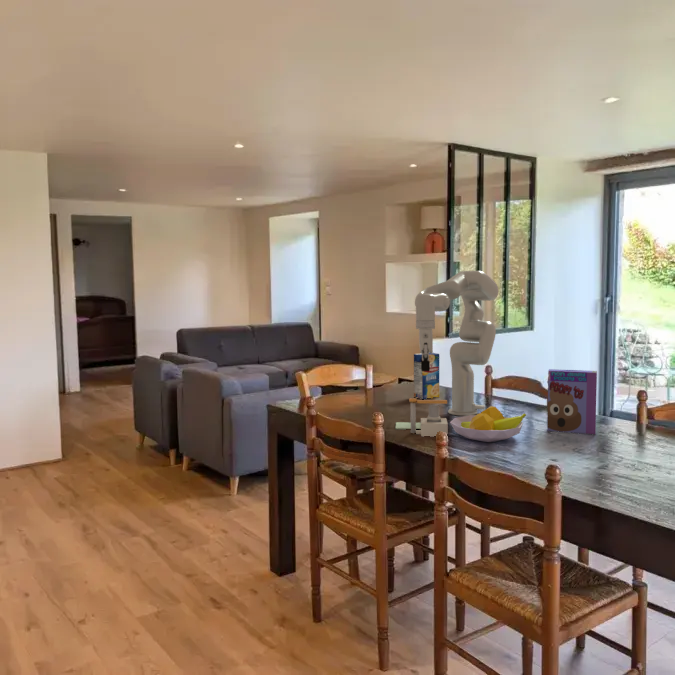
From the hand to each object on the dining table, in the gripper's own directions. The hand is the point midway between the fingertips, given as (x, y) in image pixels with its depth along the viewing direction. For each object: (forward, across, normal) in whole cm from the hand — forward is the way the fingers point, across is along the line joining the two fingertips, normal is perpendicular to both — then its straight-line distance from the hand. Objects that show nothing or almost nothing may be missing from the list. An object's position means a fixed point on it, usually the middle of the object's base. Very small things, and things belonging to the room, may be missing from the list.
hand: (425, 369), depth 262 cm
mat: (+23, 0, +7) cm, 24 cm away
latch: (+11, -11, -1) cm, 16 cm away
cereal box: (+24, -5, -56) cm, 61 cm away
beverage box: (+24, +64, -2) cm, 68 cm away
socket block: (+23, -11, -1) cm, 26 cm away
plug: (+23, -11, -3) cm, 26 cm away
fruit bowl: (+24, -17, -23) cm, 37 cm away
